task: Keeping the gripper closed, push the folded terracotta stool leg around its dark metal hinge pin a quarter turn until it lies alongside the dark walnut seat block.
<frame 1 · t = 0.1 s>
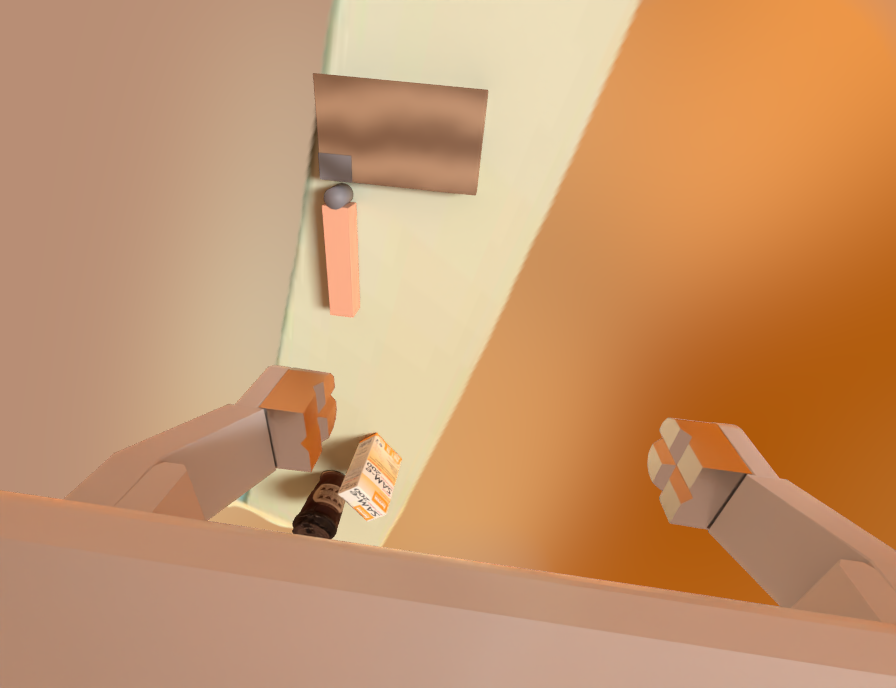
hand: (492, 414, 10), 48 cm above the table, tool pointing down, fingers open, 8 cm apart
coffee cup: (335, 478, 85), on the table
stool leg: (342, 253, 57), point 2 cm above the table, hinge at 0.0°
seat block: (344, 193, 55), on the table
supplement box: (381, 448, 79), on the table
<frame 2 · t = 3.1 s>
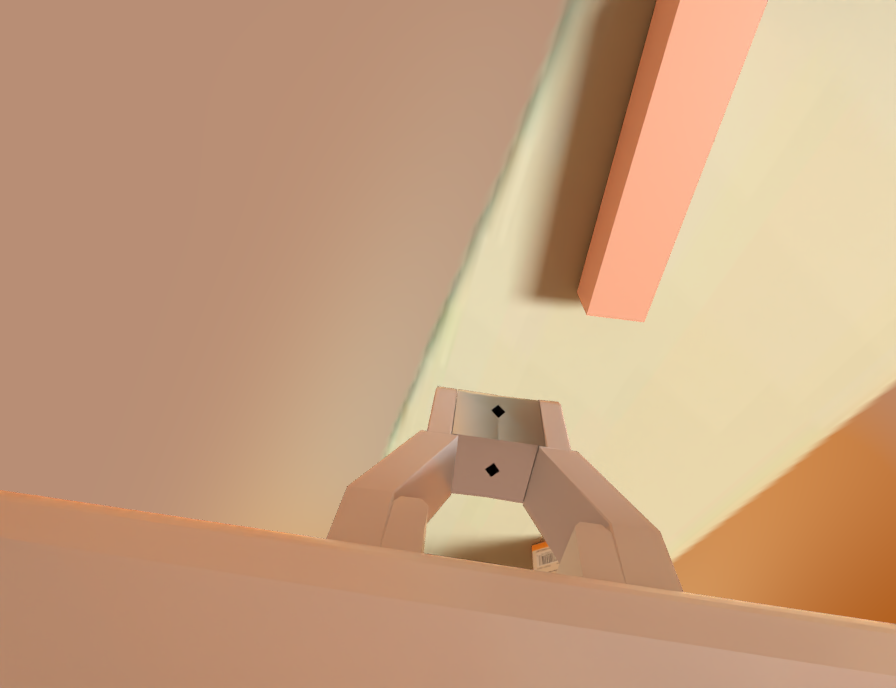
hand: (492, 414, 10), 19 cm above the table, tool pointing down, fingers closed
stool leg: (658, 152, 21), point 2 cm above the table, hinge at 0.0°
supplement box: (567, 556, 44), on the table
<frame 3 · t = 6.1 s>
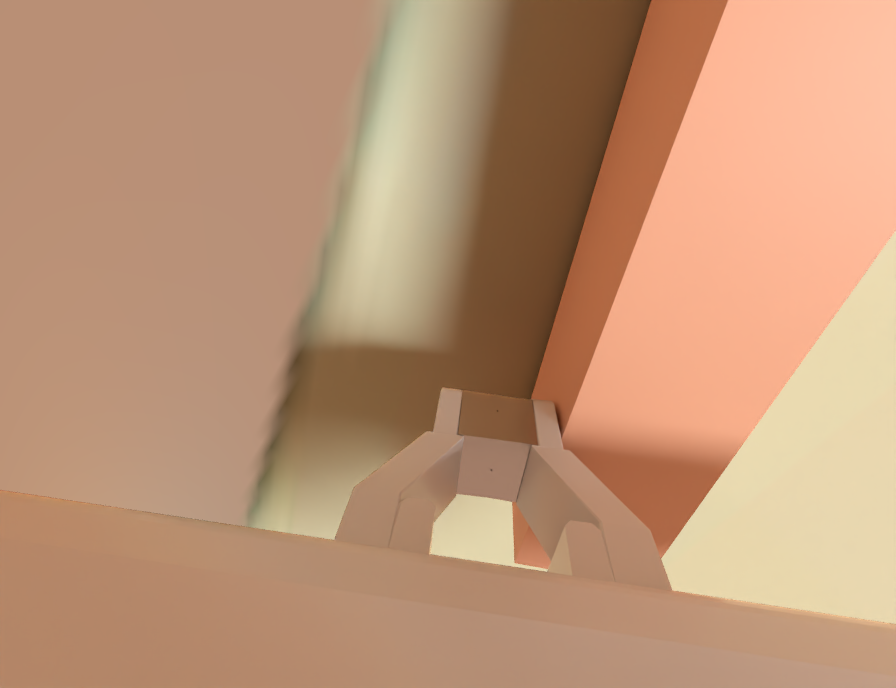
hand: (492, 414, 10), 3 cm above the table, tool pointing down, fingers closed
stool leg: (702, 223, 8), point 2 cm above the table, hinge at 0.7°, touching gripper
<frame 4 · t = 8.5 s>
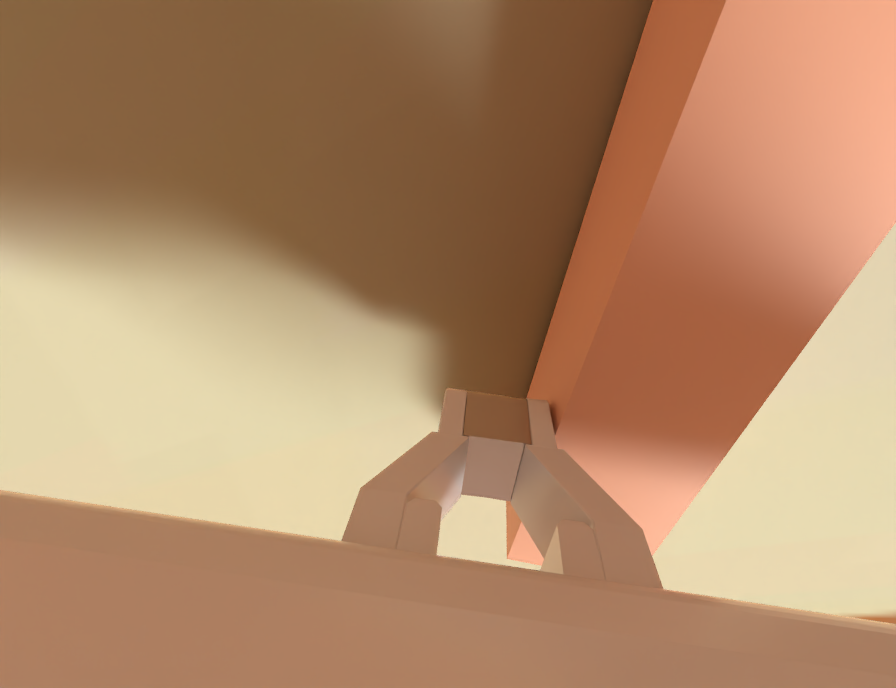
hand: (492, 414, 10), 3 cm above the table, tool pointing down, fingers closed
stool leg: (698, 225, 8), point 2 cm above the table, hinge at 45.2°, touching gripper
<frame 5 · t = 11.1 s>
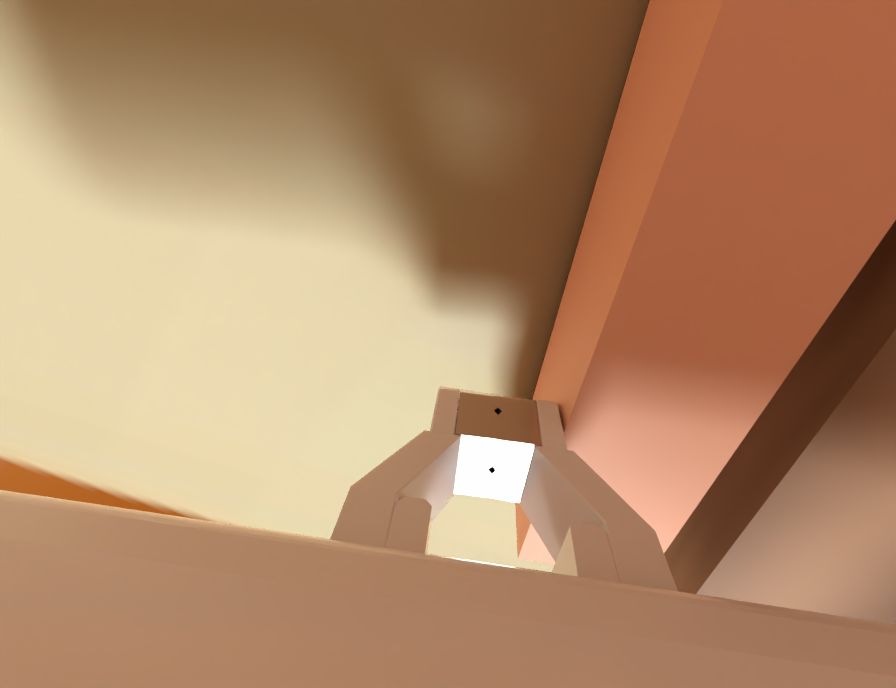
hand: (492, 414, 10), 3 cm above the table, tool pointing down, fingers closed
stool leg: (703, 217, 8), point 2 cm above the table, hinge at 87.7°, touching gripper
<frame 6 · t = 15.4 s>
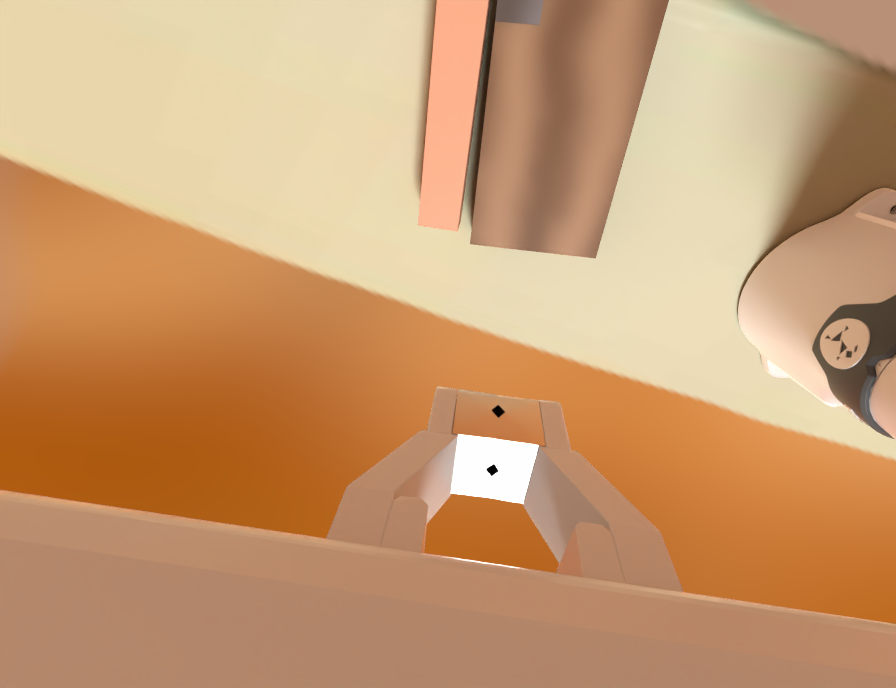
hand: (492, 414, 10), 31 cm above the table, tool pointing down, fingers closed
stool leg: (452, 108, 32), point 2 cm above the table, hinge at 87.7°
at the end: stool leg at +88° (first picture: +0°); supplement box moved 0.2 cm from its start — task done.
